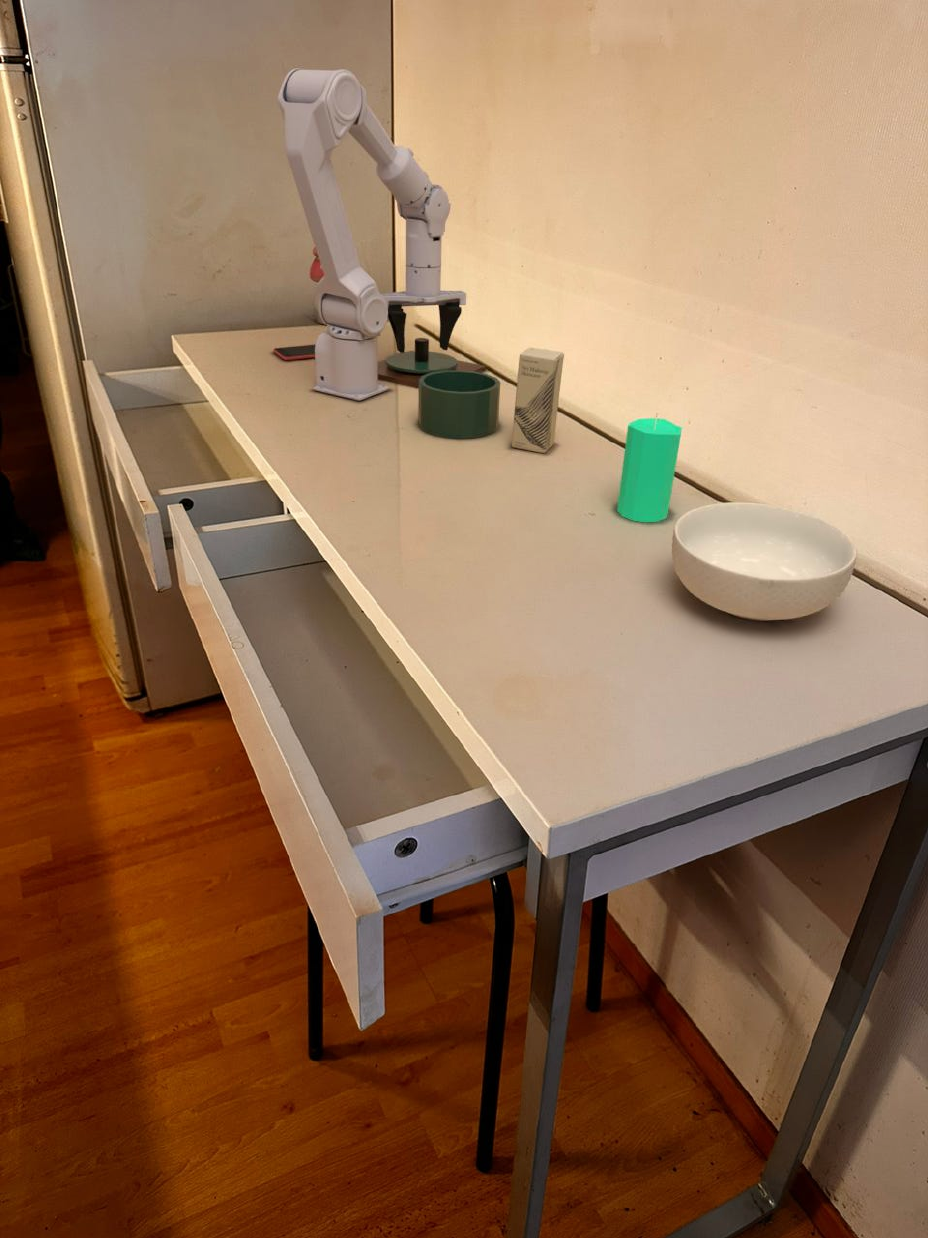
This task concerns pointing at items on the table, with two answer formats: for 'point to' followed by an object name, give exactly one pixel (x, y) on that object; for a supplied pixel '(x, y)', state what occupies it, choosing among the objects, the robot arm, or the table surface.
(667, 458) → the candle
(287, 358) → the smartphone
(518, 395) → the box
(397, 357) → the lid
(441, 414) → the pot
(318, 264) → the decorative ornament
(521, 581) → the table surface
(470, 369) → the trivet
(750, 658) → the table surface
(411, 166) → the robot arm
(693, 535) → the cereal bowl
